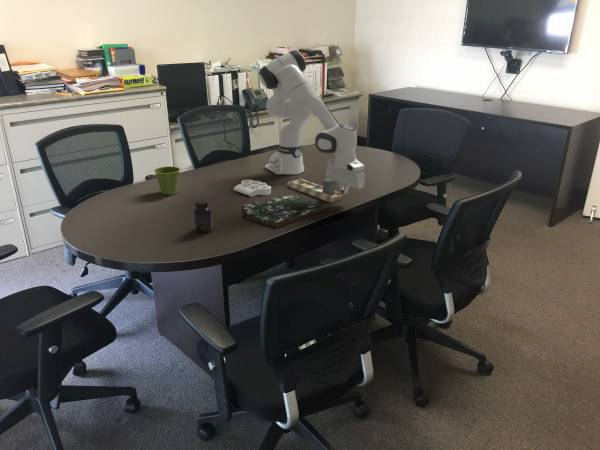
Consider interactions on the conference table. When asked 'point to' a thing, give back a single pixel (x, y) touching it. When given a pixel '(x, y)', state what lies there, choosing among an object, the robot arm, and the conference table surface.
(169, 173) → the plant pot
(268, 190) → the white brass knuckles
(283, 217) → the floral canvas painting
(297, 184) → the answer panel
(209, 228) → the supplement bottle
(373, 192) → the conference table surface
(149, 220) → the conference table surface
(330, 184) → the grey rectangular block
